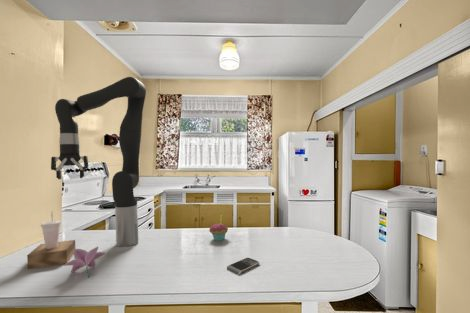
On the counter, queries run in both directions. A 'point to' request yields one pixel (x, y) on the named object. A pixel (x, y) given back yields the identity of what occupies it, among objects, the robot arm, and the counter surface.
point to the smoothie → (51, 232)
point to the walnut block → (51, 254)
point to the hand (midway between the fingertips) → (70, 178)
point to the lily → (84, 259)
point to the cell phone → (242, 266)
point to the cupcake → (218, 230)
